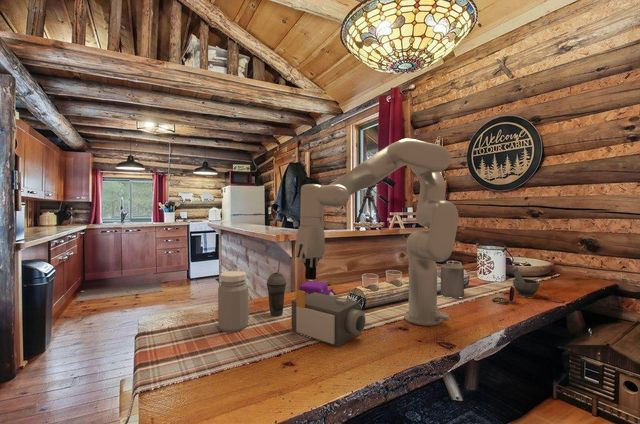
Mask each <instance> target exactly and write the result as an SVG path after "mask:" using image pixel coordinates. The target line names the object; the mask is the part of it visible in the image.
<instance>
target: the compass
mask: <svg viewBox="0 0 640 424" xmlns="http://www.w3.org/2000/svg"><path fill="white" fill-rule="evenodd" d="M514 298H515V287H514V285H510V287H509V295H508V299H507V298H505V297H499V296H496V297H494V298H492V300H493V301H495V302H499V303H501V304H500V305H505V304H504V303H509V304H510V303H511V302H513V301H514ZM501 299H502V300H501ZM492 300H491V301H492ZM493 301H492V302H493ZM495 302H494V303H495ZM499 303H498V304H499Z"/></svg>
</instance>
